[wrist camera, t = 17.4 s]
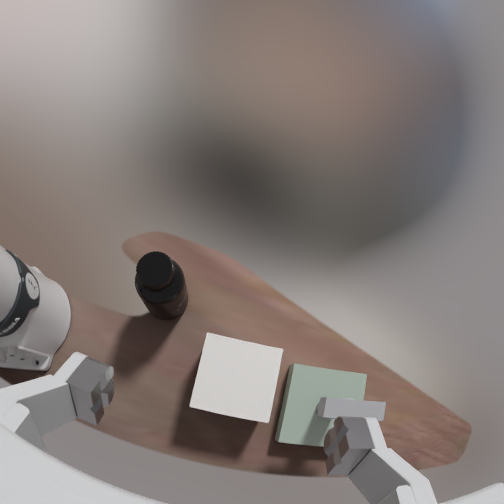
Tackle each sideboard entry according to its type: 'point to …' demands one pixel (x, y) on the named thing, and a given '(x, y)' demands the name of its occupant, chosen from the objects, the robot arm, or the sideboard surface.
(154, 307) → the supplement bottle
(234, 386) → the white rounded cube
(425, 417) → the sideboard surface
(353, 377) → the t-shaped pedestal stand
